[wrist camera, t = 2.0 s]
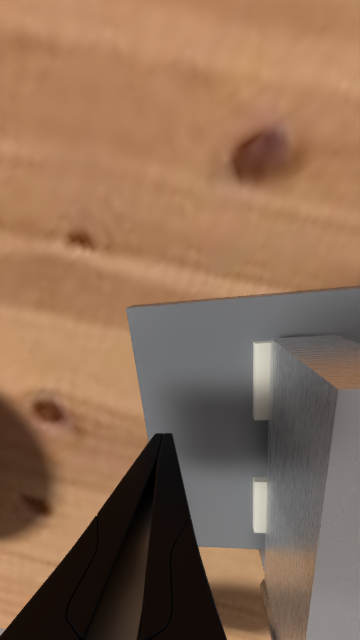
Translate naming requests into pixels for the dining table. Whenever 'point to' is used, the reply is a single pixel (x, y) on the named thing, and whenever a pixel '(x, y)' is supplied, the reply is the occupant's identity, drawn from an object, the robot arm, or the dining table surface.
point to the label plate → (225, 394)
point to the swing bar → (313, 490)
